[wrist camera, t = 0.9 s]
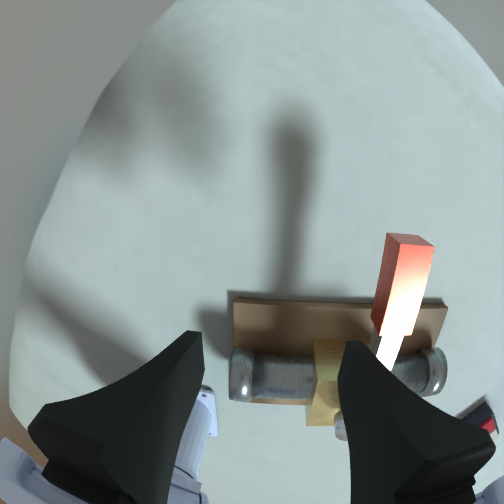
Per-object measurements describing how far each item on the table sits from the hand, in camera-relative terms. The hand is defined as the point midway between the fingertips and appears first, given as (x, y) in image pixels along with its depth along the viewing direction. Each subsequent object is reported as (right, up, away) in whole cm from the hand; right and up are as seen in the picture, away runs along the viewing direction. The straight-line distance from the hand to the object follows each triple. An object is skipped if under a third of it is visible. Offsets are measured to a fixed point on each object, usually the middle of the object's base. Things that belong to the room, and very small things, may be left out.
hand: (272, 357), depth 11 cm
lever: (+6, -2, +4) cm, 8 cm away
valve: (+7, -5, +12) cm, 15 cm away
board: (+7, -5, +12) cm, 15 cm away
